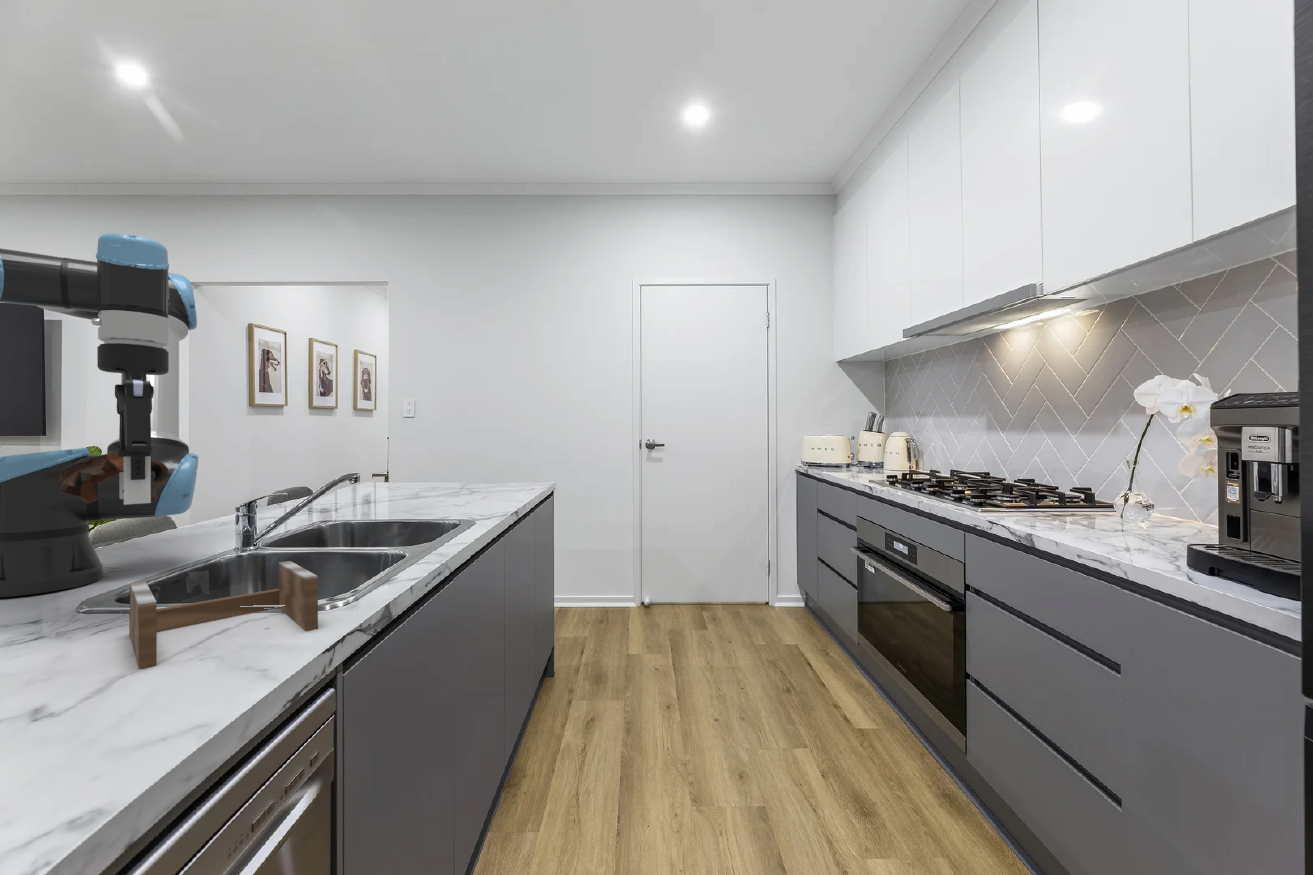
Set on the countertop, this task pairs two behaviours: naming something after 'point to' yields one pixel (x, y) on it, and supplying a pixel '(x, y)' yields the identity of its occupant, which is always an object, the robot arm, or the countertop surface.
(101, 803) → the countertop surface
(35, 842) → the countertop surface
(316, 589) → the wooden stand
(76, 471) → the pottery mug
